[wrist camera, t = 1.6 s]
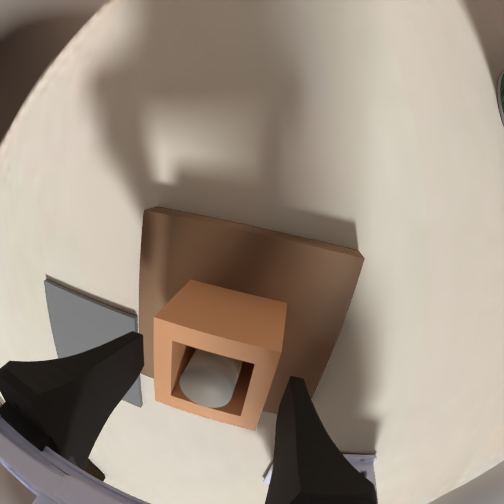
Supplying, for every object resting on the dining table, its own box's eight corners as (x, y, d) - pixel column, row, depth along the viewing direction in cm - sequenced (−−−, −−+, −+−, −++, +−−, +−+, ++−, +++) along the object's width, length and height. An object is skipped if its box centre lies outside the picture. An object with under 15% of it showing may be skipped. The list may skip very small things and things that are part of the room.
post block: (358, 250, 15) (393, 300, 9) (302, 403, 18) (298, 474, 12) (156, 206, 16) (85, 227, 10) (149, 362, 20) (107, 417, 13)
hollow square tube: (287, 303, 15) (281, 352, 11) (266, 376, 16) (255, 430, 12) (190, 279, 15) (154, 317, 11) (184, 354, 17) (155, 400, 13)
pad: (137, 316, 19) (134, 318, 18) (142, 405, 22) (140, 407, 21) (47, 279, 20) (44, 280, 19) (62, 364, 23) (60, 366, 22)
